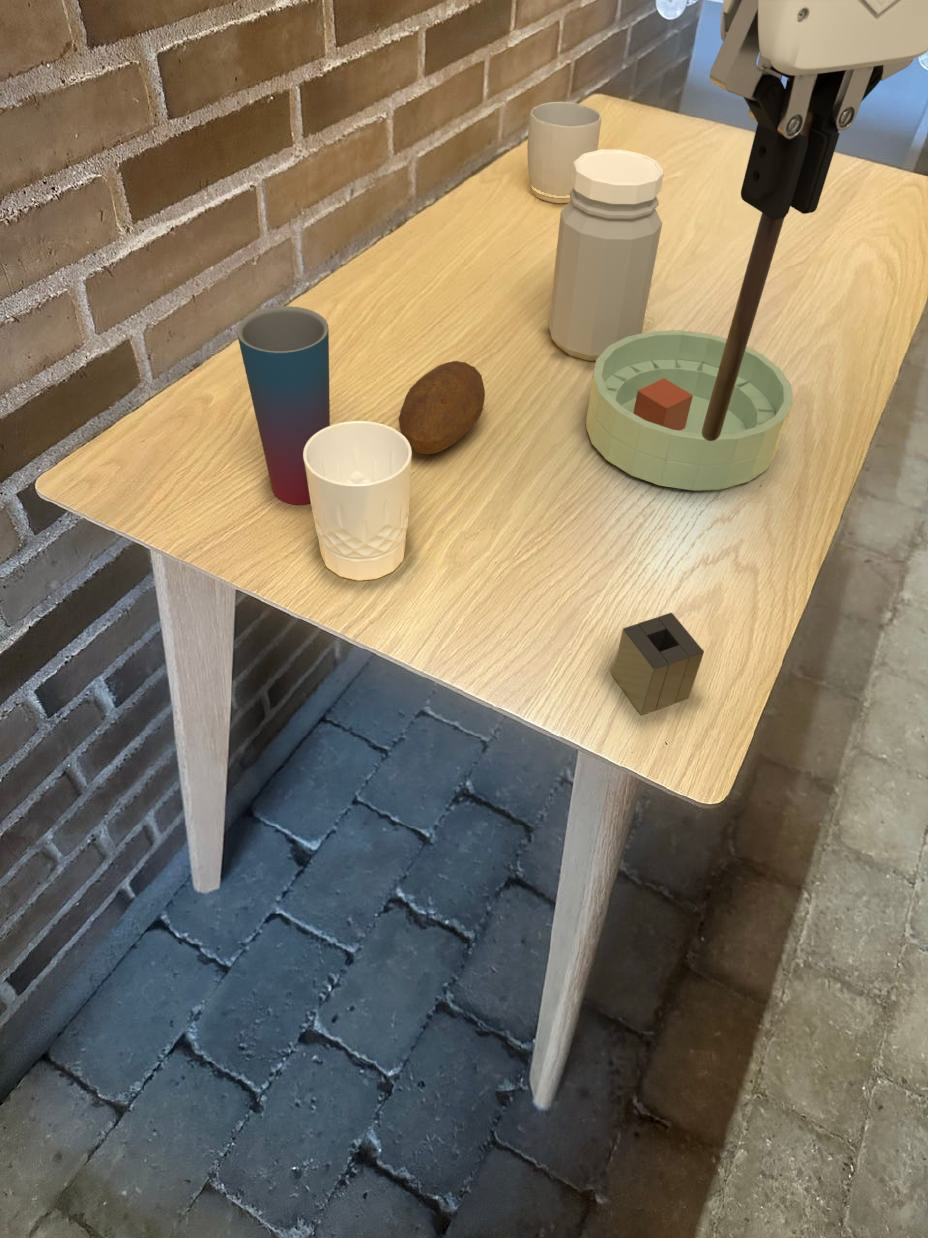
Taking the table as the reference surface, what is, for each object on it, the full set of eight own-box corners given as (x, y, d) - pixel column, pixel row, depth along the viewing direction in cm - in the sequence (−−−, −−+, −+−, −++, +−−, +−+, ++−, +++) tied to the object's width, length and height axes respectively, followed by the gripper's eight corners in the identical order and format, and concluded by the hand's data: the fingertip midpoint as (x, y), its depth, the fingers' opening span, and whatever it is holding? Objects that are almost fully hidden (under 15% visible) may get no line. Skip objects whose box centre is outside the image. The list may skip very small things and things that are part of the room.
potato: (381, 464, 84) (379, 397, 79) (430, 397, 91) (431, 332, 86) (452, 483, 82) (454, 416, 77) (495, 413, 90) (500, 348, 85)
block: (656, 410, 90) (663, 377, 87) (685, 427, 88) (693, 394, 85) (631, 423, 88) (637, 390, 86) (659, 441, 86) (666, 408, 84)
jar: (635, 371, 96) (669, 192, 83) (541, 358, 97) (559, 179, 84) (642, 324, 102) (674, 151, 89) (553, 312, 103) (572, 140, 90)
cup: (356, 480, 82) (346, 322, 71) (307, 522, 78) (288, 362, 67) (296, 453, 84) (277, 297, 73) (245, 492, 80) (217, 333, 69)
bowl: (703, 370, 96) (716, 316, 92) (813, 468, 85) (834, 412, 81) (552, 406, 91) (559, 350, 87) (649, 515, 80) (662, 458, 76)
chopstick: (710, 431, 61) (805, 98, 46) (722, 442, 60) (822, 106, 46) (695, 436, 61) (787, 101, 46) (707, 446, 60) (803, 109, 45)
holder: (658, 659, 69) (671, 611, 65) (689, 698, 66) (704, 651, 63) (611, 675, 68) (622, 628, 64) (641, 716, 65) (654, 669, 61)
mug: (574, 213, 121) (584, 131, 114) (512, 198, 124) (518, 116, 117) (611, 180, 129) (623, 101, 122) (552, 166, 132) (560, 88, 125)
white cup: (432, 552, 76) (433, 451, 69) (361, 602, 72) (355, 500, 64) (365, 508, 79) (359, 407, 72) (293, 553, 75) (280, 451, 68)
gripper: (818, -269, 31) (697, 261, 45) (1129, -264, 36) (937, 212, 50) (688, -287, 36) (614, 199, 49) (980, -280, 41) (841, 160, 54)
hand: (777, 204), depth 49 cm, fingers closed on chopstick, 1 cm apart
